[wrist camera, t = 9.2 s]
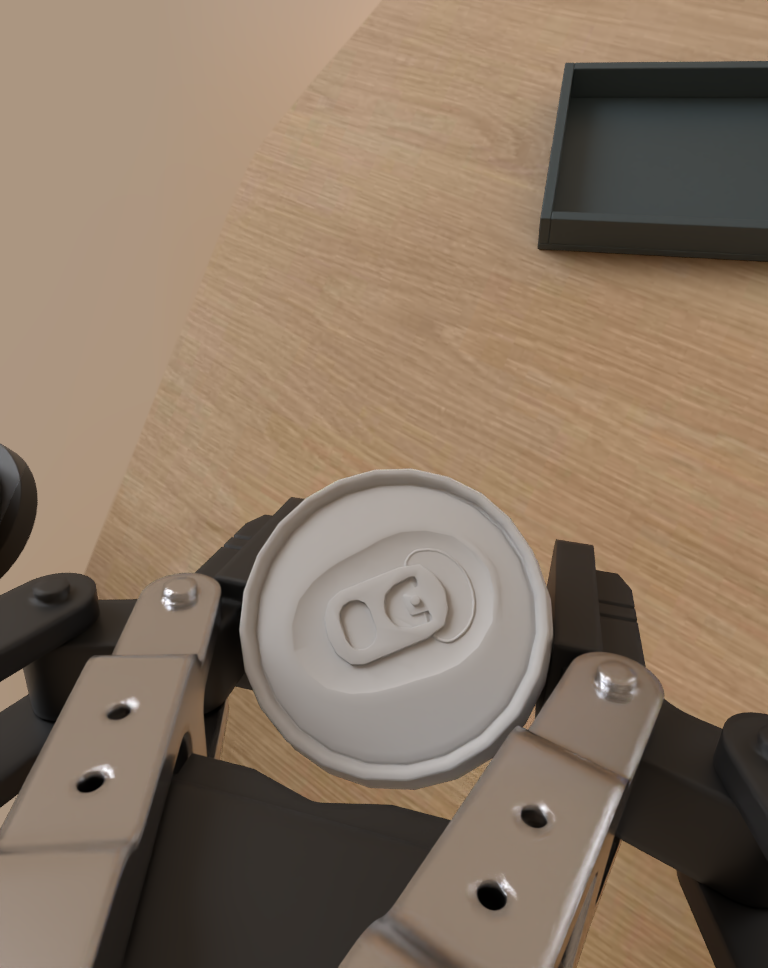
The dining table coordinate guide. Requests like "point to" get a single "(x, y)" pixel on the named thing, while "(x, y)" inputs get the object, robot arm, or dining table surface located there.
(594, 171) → the serving tray
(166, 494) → the dining table surface
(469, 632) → the beverage can
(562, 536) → the dining table surface
